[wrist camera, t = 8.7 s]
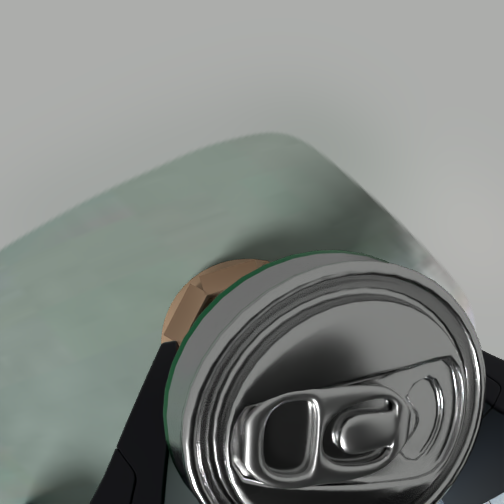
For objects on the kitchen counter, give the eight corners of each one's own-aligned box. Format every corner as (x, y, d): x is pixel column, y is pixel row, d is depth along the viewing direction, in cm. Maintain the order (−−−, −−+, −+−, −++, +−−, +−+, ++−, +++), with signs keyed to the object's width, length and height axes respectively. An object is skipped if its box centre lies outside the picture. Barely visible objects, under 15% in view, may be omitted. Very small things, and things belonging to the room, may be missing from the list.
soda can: (304, 403, 14) (468, 525, 3) (201, 402, 14) (162, 579, 2) (308, 304, 16) (499, 243, 4) (205, 299, 15) (155, 214, 3)
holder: (351, 305, 20) (376, 302, 16) (282, 444, 17) (295, 466, 14) (211, 234, 20) (210, 215, 16) (137, 376, 17) (120, 386, 14)
